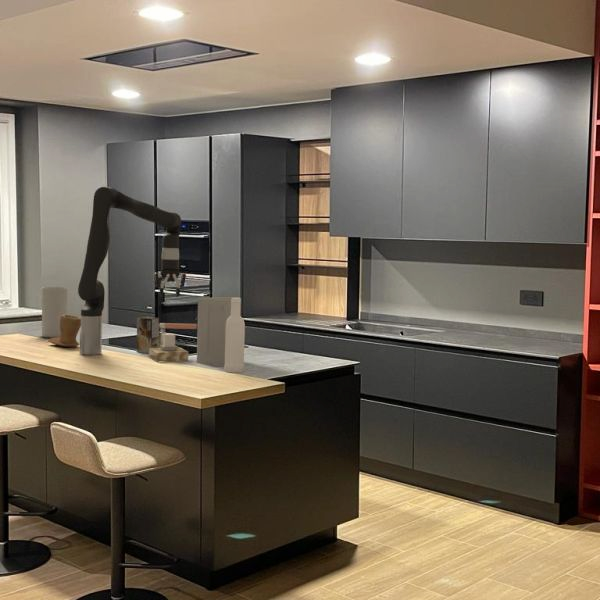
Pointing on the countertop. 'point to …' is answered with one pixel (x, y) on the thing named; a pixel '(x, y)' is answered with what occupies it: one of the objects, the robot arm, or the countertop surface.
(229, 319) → the bottle
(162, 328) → the clip post
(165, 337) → the plug
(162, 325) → the bar
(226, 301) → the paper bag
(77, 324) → the brown boot-shaped piece
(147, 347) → the coffee box
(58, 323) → the cylinder vase
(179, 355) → the socket block
